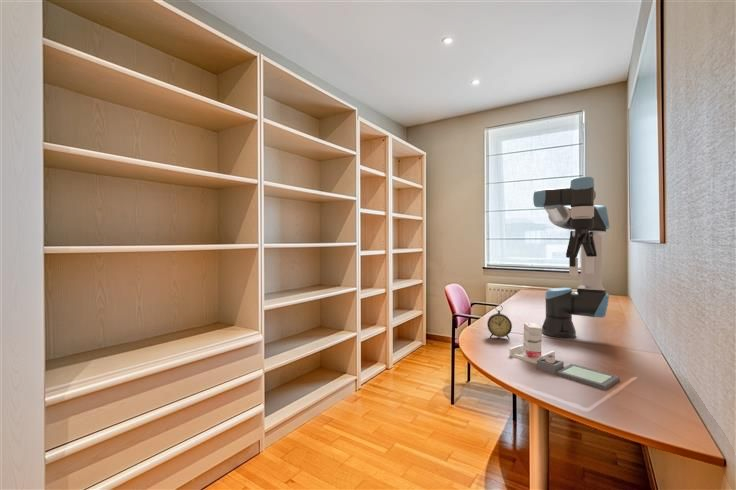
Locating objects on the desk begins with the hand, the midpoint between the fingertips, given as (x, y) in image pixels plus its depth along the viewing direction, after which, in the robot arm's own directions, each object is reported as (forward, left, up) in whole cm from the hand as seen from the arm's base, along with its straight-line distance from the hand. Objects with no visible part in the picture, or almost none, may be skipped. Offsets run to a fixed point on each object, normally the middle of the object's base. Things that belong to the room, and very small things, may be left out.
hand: (581, 274), depth 129 cm
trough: (+9, -15, -35) cm, 39 cm away
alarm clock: (-8, -40, -35) cm, 54 cm away
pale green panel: (+14, +7, -33) cm, 37 cm away
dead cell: (+16, -4, -34) cm, 38 cm away
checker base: (+13, +7, -35) cm, 38 cm away
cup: (+16, -4, -35) cm, 38 cm away
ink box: (+9, -15, -33) cm, 37 cm away
